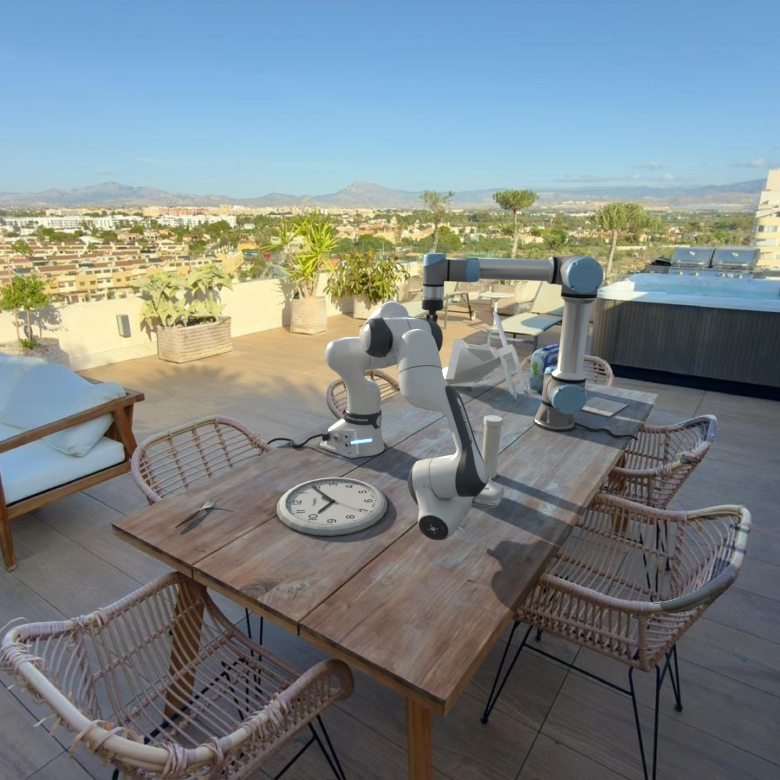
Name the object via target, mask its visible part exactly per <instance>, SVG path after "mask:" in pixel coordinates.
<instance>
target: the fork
mask: <svg viewBox="0 0 780 780" xmlns="http://www.w3.org/2000/svg"><path fill="white" fill-rule="evenodd" d="M219 496H220V494H218V493H213V492H212V493H211V494H210V497H208V500H207V501H206V502H205V503H204V504H203V505H202V507H201V508H200V509H198V510H196V511H194V512H193V513H191V514H189V515H188V516H187V517H185V518H184V519H183V520H182V521H181V522H179V523H178V524H177V525H175V527H174V528H175V529H177V528H179V527H180V526H182V525H184V524H185V523H187V522H189V521H190V520H192V519H194V517H196V516H197V515H198V514H199V513H201V511H203V510H204V509H210V508H212V507H213V506H214V505H215V504H216V502H217V500H218V498H219Z"/></svg>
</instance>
